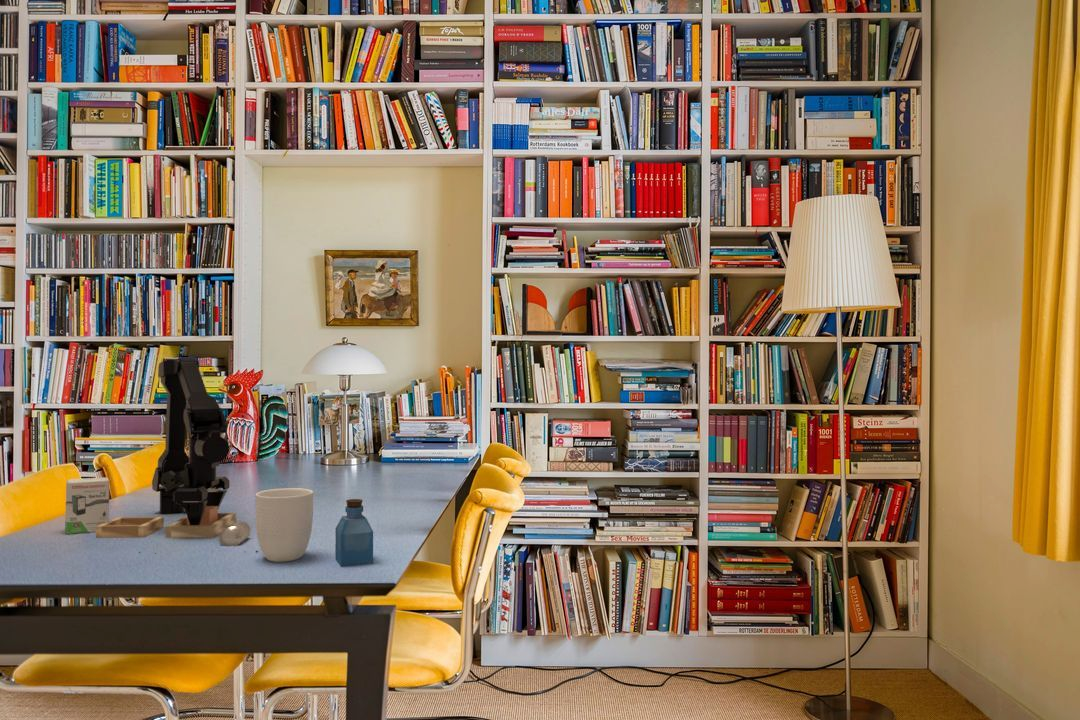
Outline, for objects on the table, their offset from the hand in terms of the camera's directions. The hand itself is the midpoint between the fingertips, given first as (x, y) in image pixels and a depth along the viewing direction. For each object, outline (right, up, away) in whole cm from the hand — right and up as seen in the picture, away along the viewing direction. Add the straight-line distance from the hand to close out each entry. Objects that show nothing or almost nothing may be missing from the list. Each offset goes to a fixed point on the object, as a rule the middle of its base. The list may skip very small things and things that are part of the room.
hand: (202, 526), depth 179 cm
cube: (0, -1, 0) cm, 1 cm away
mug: (+25, -2, -22) cm, 33 cm away
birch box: (0, -1, 0) cm, 1 cm away
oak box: (-15, -1, -3) cm, 15 cm away
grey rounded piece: (+10, 0, -11) cm, 15 cm away
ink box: (-27, -2, +2) cm, 27 cm away
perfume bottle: (+40, -2, -25) cm, 47 cm away
